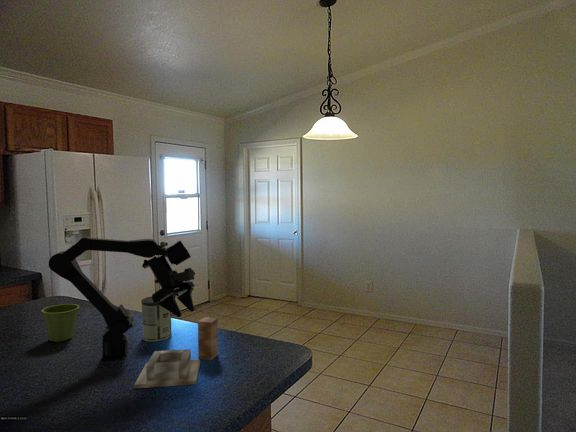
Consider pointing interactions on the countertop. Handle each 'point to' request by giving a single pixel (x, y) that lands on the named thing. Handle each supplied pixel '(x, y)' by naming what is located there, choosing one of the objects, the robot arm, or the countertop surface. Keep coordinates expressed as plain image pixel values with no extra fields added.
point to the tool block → (169, 369)
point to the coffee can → (155, 321)
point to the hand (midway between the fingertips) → (186, 313)
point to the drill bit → (131, 318)
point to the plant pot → (60, 321)
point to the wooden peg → (207, 338)
